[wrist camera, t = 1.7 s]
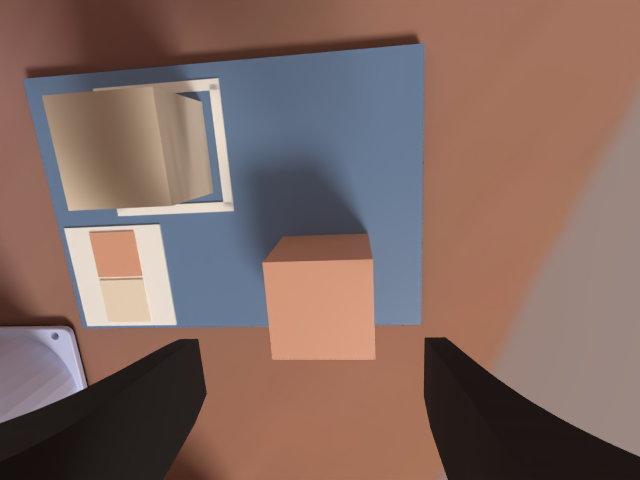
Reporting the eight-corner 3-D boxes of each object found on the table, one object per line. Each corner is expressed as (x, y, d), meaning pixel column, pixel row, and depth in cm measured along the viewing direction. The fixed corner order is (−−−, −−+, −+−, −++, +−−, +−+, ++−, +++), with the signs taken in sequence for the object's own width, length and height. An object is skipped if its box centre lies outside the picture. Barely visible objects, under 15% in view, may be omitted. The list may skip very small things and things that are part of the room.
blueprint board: (90, 323, 22) (80, 330, 21) (32, 81, 19) (19, 78, 18) (419, 319, 20) (421, 326, 19) (421, 47, 17) (425, 42, 16)
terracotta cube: (289, 314, 20) (272, 359, 16) (283, 236, 19) (262, 262, 15) (370, 312, 20) (375, 359, 15) (368, 233, 18) (372, 259, 14)
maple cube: (133, 196, 19) (68, 210, 15) (116, 108, 18) (41, 95, 14) (213, 192, 19) (171, 206, 14) (201, 102, 18) (152, 86, 13)
